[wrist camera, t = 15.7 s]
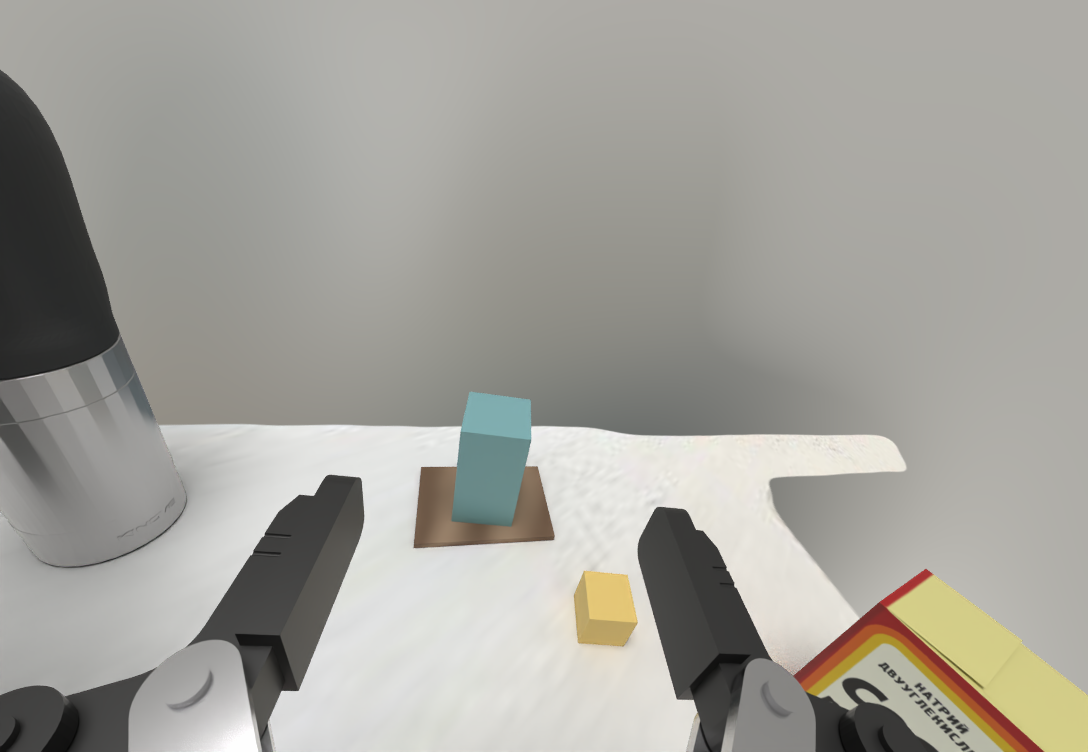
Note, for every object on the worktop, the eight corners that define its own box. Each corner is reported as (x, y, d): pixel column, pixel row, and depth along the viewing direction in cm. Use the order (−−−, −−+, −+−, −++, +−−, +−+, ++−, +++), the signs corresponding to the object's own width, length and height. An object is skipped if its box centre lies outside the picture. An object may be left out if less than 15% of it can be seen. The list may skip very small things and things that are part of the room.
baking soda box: (927, 821, 27) (1154, 739, 19) (882, 885, 24) (1130, 819, 16) (803, 672, 34) (929, 565, 26) (756, 707, 31) (883, 598, 23)
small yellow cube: (577, 643, 32) (589, 618, 30) (573, 595, 36) (584, 570, 34) (623, 646, 33) (637, 622, 31) (614, 599, 36) (627, 574, 34)
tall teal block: (451, 521, 39) (460, 431, 33) (460, 476, 44) (469, 391, 38) (511, 526, 40) (531, 439, 34) (513, 481, 45) (530, 399, 39)
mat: (413, 548, 37) (414, 544, 36) (421, 470, 45) (421, 467, 44) (553, 539, 40) (554, 536, 40) (536, 469, 48) (537, 466, 48)
